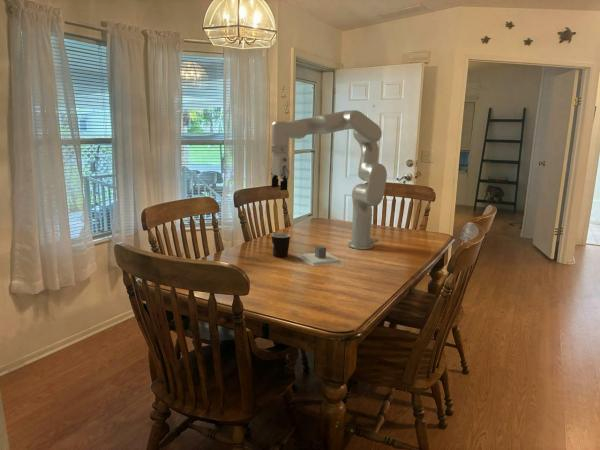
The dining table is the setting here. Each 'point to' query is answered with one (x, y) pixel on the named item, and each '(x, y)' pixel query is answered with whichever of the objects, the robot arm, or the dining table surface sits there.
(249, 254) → the dining table surface
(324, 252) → the lid
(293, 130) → the robot arm
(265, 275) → the dining table surface
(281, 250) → the coffee mug
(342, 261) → the mat
